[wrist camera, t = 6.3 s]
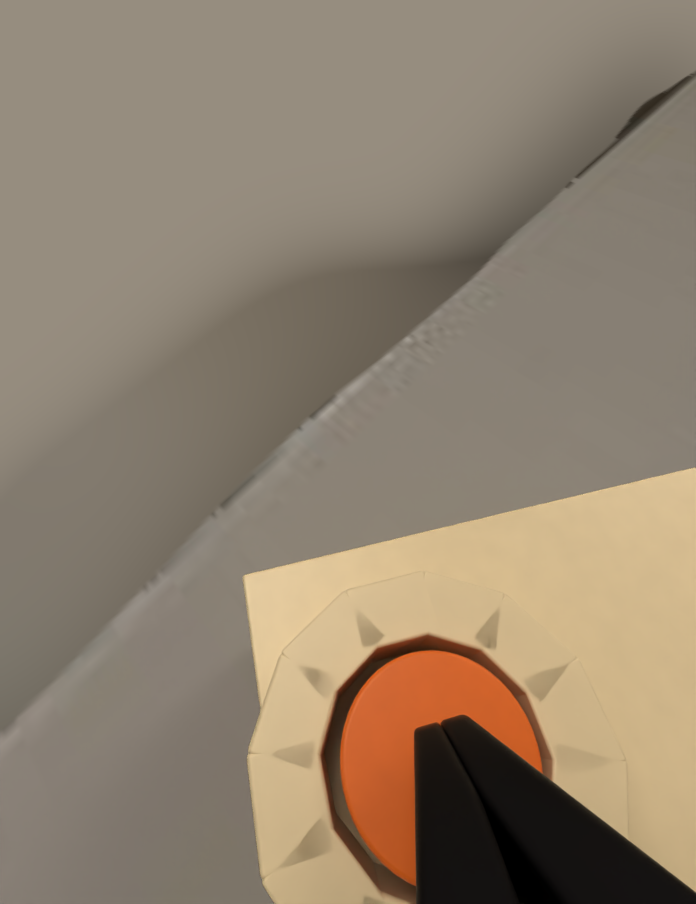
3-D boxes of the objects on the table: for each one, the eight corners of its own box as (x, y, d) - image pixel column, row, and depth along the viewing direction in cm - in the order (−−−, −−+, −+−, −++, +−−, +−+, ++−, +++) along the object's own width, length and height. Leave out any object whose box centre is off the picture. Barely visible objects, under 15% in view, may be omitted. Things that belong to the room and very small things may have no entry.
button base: (742, 785, 14) (1117, 830, 7) (320, 933, 12) (294, 1177, 6) (604, 540, 18) (763, 422, 11) (271, 625, 16) (221, 546, 10)
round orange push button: (534, 830, 8) (584, 855, 7) (364, 888, 8) (370, 930, 6) (468, 647, 10) (495, 629, 8) (324, 687, 10) (320, 676, 8)
